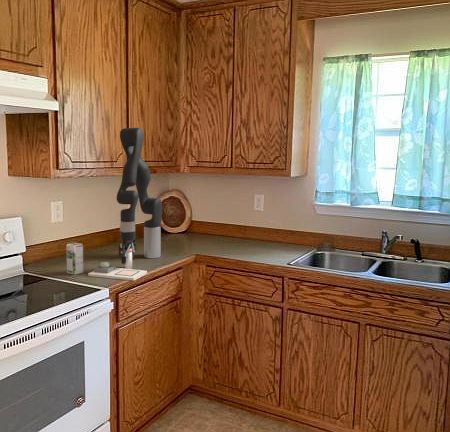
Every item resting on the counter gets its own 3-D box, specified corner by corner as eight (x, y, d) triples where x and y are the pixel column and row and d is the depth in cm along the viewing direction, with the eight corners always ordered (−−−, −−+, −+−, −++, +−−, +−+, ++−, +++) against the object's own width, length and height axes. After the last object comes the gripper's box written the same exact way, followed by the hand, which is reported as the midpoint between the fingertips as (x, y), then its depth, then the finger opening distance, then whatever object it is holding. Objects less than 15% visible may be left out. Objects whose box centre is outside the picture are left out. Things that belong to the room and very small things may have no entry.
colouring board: (103, 268, 237) (103, 262, 237) (146, 273, 231) (146, 266, 230) (88, 276, 224) (88, 269, 223) (134, 280, 217) (133, 274, 217)
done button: (103, 267, 231) (103, 261, 231) (111, 268, 230) (110, 261, 230) (98, 269, 227) (98, 263, 227) (106, 270, 226) (106, 263, 226)
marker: (127, 267, 240) (126, 247, 239) (133, 268, 239) (133, 248, 238) (123, 269, 237) (123, 249, 235) (130, 270, 236) (130, 249, 234)
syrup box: (66, 273, 228) (65, 243, 226) (76, 270, 233) (75, 241, 231) (74, 275, 225) (73, 245, 223) (84, 272, 230) (83, 243, 228)
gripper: (127, 227, 243) (127, 258, 245) (113, 231, 229) (114, 264, 231) (140, 228, 241) (140, 259, 243) (127, 232, 227) (127, 265, 229)
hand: (127, 261), depth 237 cm, fingers open, 8 cm apart
